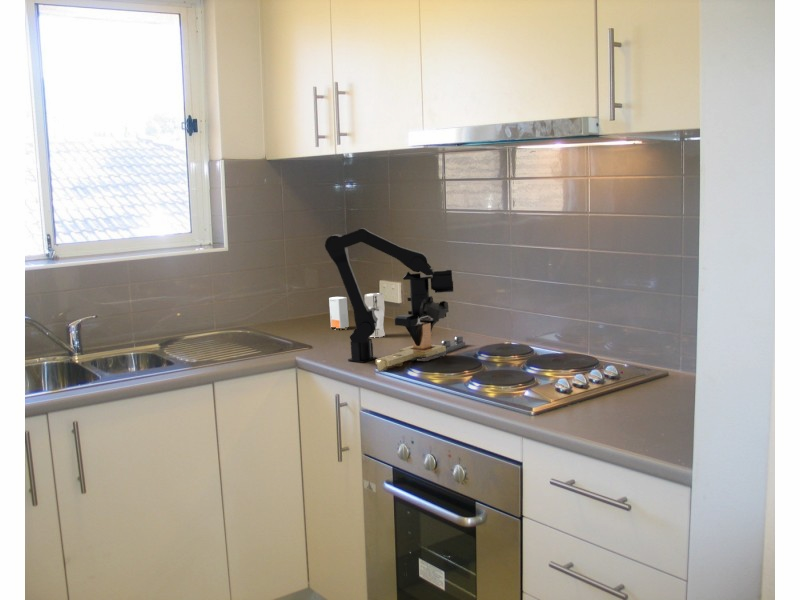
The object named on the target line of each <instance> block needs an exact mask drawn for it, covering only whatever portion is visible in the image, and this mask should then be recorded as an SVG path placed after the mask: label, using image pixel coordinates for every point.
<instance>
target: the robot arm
mask: <svg viewBox="0 0 800 600" xmlns="http://www.w3.org/2000/svg"><path fill="white" fill-rule="evenodd" d="M359 243H363V244H365V245H367V246H370V247H372V248H374V249H376V250H378V251H380V252H381V253H384V254H386V255H388V256H391V257H393V258H395V260H398V261H399V262H400V263H401V264H403V266H405V267H407V268H408V269H409V270H410V271H413V272H414V273H411V272H410V271H409V270H407V271H406V274H405V275H404V276H403V277H402V279H403V281H405V280H406V281H407V280H408V281H409V294H410V295H409V297H407V302H410V310H408V312H407V313H408V314H405V313H403V314H399V315H396V316H395V317H394V318H393V319H394V326H401V327H405V328H406V330H407V332H408V333H409V335H410V337H411V338H412V341H413V340H414V342H415V344H416V346H420V329H421V327H422V326H423V324H420V322H425V323H431V332H432V331H433V328H434V326H435V324H436V323H438V322H439V321H440V319H445V318H447V313H449V312H450V311H449V304H448V301H446V300H442V301H439V302H434V298H433V296H432V295H430V289H431V291H434V293H435V294H440V293H454V279H453V269H452V268H451V269H445V270H435V269H434V267H432V266H431V265H430V264H429V262H428V257H427V255H426V253H424V252H423V251H419V250H415V249H412V248H407V247H404V246H400V245H398V244H397V243H394V241H393V242H392V241H390V240H388V239H386V238H384V237H382V236H380V235H378V234H376V233H374V232H372V231H370V230H368V229H367V228H365V227H361V228H358V229H357V230H354V231H352V232H351V231H350V232H349V233H346V234H343V235H342V234H339V233H336V234H332V235H331V236H328V237H327V238H326V239H325V243H324V248H325V251H326V252H327V253H328V255H329V257H330V259H331V260H332V261H333V263H334V265H335V266H336V267H337V270H338V273H339V276H340V278H341V281H342V283H343V286H344V289H345V290H346V293H347V296H348V299H349V301H350V304H351V307H352V310H353V316H354V323H355V329H353V331H352V332H351V334H350V335H349V339H350V352H351V354H350V355H351V357H350V358H348V359H347V361H348V362H354V363H355V362H356V363H366V362H367V363H368V362H370V361H372V360H375V359H378V358H377V356H374V345H373V340H372V339H373V338H369V337H370V336H371V335H372V334H373V333H374V331H375V329H376V327H377V320H378V318H377V317H376V316H375V313H374V308H371V309H369V308H368V307H367V305H366V304H365V298H364V297H363V294H362V291H361V289H360V286H359V284H358V281H357V278H356V275H355V273H354V270H353V267H352V264H351V262H350V256H349V249H348V247H350V246H351V247H352V246H353V245H356V244H359ZM421 273H422V274H424V275H422V274H421ZM429 280H430V284H429ZM429 286H430V287H429Z"/></svg>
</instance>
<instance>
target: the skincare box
mask: <svg viewBox="0 0 800 600" xmlns="http://www.w3.org/2000/svg"><path fill="white" fill-rule="evenodd" d="M328 300H329V301H328V302H329V303H328V305H329V318H330V319H329V320H330V328H331V327H336V328H345V327H349V328H350V326H349V311H348V297H346V296H332V297H329V298H328Z"/></svg>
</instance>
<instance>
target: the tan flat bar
mask: <svg viewBox="0 0 800 600" xmlns="http://www.w3.org/2000/svg"><path fill="white" fill-rule="evenodd" d="M453 339H454V340H450V339H442V340H441V343H440V344H432V348H431V349H427V350H416V349H413V345H410V346H406V347H403V348H400V349H399V352H395V353H393V354H389V355H386V356H382V357H378V358H376V359H374V360H375V365H376V366H377V372H380V371H382V370H387V369H388V367H390V366H393V367H396V366H398V367H402V365H404V362H406V361H412V362H413V361H414V360H417V359H422V358H429V357H434V356H443V355H446V356H447V353H449V352H452V351H455V350H458V349H462V348H465V347H466V341H464V336H463V335H455V336H454V337H453ZM443 357H444V356H443ZM414 362H415V361H414ZM387 371H388V370H387Z"/></svg>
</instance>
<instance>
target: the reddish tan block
mask: <svg viewBox="0 0 800 600" xmlns="http://www.w3.org/2000/svg"><path fill="white" fill-rule="evenodd" d="M420 324H423V326H422V327H421V329H420V346H416V344H415V342H414V340H413V339H412V346H413V349H416V350H427V349H431V348H432V345H433V344H432V331H431V323H425V322H420Z"/></svg>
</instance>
